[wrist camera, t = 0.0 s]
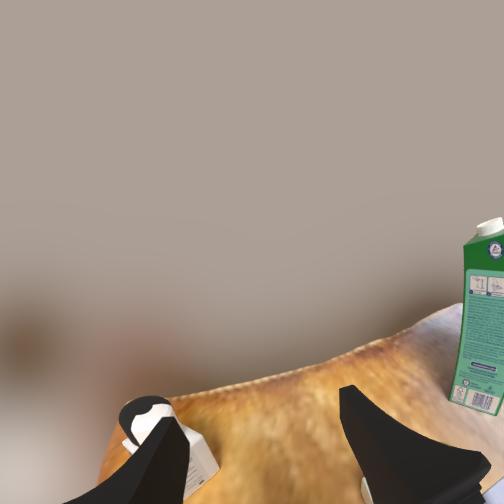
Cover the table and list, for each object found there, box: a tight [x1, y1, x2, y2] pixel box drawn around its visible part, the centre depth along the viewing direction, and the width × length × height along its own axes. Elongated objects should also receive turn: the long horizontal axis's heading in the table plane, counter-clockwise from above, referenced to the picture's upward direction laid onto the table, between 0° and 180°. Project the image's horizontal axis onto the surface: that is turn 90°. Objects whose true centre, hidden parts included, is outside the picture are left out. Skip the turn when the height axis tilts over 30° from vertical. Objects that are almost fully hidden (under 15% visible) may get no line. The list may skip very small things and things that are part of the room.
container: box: [119, 396, 220, 501], centre depth 25 cm, size 8×8×13 cm
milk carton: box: [449, 218, 504, 416], centre depth 23 cm, size 9×9×25 cm
